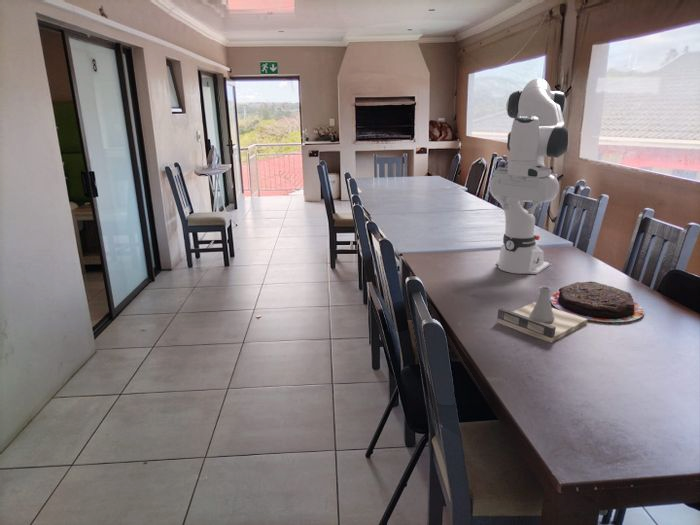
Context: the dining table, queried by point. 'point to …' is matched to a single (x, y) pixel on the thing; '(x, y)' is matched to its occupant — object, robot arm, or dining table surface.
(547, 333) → the shelf board
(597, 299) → the chocolate cake
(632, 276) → the dining table surface
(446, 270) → the dining table surface
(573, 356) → the dining table surface
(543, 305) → the flask
